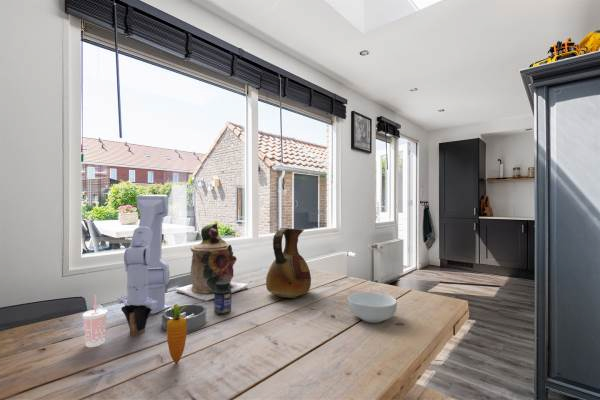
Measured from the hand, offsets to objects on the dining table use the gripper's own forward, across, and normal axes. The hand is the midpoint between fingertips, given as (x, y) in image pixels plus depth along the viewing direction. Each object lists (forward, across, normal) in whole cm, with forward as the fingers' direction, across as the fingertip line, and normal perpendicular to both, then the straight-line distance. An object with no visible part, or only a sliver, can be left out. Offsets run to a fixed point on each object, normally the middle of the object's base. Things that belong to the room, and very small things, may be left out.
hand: (137, 328), depth 94 cm
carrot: (+2, +24, -9) cm, 26 cm away
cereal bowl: (+2, +67, +39) cm, 78 cm away
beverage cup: (+2, -6, -9) cm, 11 cm away
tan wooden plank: (+2, 0, 0) cm, 2 cm away
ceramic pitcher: (+2, +29, +53) cm, 60 cm away
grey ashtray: (+2, +8, +12) cm, 15 cm away
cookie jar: (+2, -7, +47) cm, 47 cm away
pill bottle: (+2, +14, +25) cm, 29 cm away
